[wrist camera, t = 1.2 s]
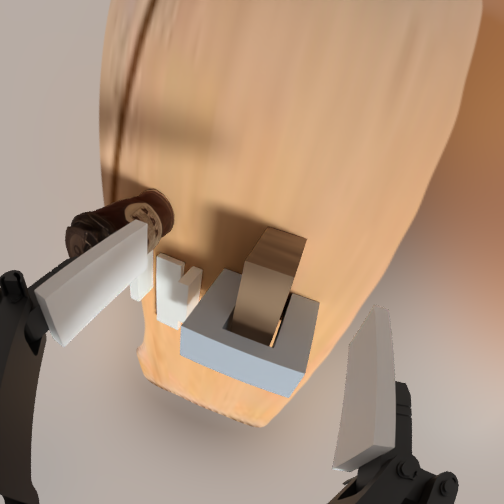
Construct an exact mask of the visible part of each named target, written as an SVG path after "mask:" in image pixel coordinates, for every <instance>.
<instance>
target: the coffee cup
mask: <svg viewBox="0 0 504 504" xmlns="http://www.w3.org/2000/svg"><path fill="white" fill-rule="evenodd" d="M134 220H139V221H142V222H144V223H147V224H148V226H147V254H148V253H149V252H151V251H152V250H153V249H154V248H155V247H156V245H157V244H158V243H159V241H160V239H161V238H162V237H163V236H165V235H166V234H167V233H168V232H170V231H171V229H172V228H173V225H174V212H173V209H172V207H171V205H170V203H169V201H168V200H167V199H166V198H165V196H164V195H163V194H161V193H160V192H158V191H157V190H155V189H154V190H147V191H145V192H143V193H142V194H140V195H139V196H137V197H133V198H130V199H124V200H119V201H116V202H113V203H111V204H110V205H108V206H106V207H103V208H101V209H98V210H96V211H93V212H90V211H89V212H85V213H82V214H80V215H77V216H75V217H74V219H73V220H72V223H71V227H67V230H66V236H65V242H66V248H67V251H68V254H69V257H70V258H72V257H75V256H78V257H79V256H81V255H82V254H84V253H85V252H87V251H88V250H90V249H91V248H92V247H94V246H95V245H97V244H98V243H100V242H101V241H103V240H104V239H106V238H107V237H109V236H110V235H112V234H114V233H115V232H117V231H118V230H120V229H121V228H123V227H124V226H126V225H128V224H129V223H131V222H132V221H134Z"/></svg>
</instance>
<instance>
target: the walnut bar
mask: <svg viewBox="0 0 504 504" xmlns="http://www.w3.org/2000/svg"><path fill="white" fill-rule="evenodd" d="M306 240H307V239H305V238H302V237H299V236H296V235H293V234H290V233H287V232H284V231H281V230H278V229H275V228H271V227H267V229H266V230H265V232H264V233H263V235H262V236H261V238H260V239H259V241H258V242H257V244H256V245H255V247H254V248H253V250H252V251H251V253H250V254H249V256H248V257H247V259H246V260H245V263H244V268H243V273H242V277H241V282H240V287H239V291H238V296H237V300H236V305H235V310H234V314H233V319H232V324H231V328H230V332H232V333H235V334H237V335H240V336H242V337H245V338H248V339H250V340H253V341H255V342H258V343H261V344H264V345H266V346H269V345H270V343H271V340H272V338H273V335H274V332H275V330H276V327H277V324H278V322H279V319H280V316H281V314H282V311H283V308H284V305H285V303H286V300H287V297H288V294H289V291H290V289H291V286H292V283H293V280H294V277H295V274H296V271H297V268H298V265H299V262H300V259H301V256H302V253H303V250H304V246H305V243H306Z"/></svg>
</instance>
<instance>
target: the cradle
mask: <svg viewBox="0 0 504 504" xmlns="http://www.w3.org/2000/svg"><path fill="white" fill-rule="evenodd" d="M184 267H185V262H182V261H180V260H177V259H175V258H172V257H170V256H167V255H165V254H162V253H160V254H159V255H157V263H156V297H157V320H158V321H160V322H162V323H164V324H166V325H168V326H170V327H172V328H174V329H176V330H178V329H179V328H180V326H181V322H182V323H184V321H185V320H186V319H187V317H188V316H189V315H190V313H191V312H192V311H193V309H194V308H195V307H196V305H197V304H198V303H199V296H200V288H201V280H202V272H203V270H202V269H200V268H197V267H195V266H192V267H191V268H190V269H189V271H188V272H187V273H186V274H185V275H184ZM152 288H153V250H152V251H151V252H149V253H148V254H147V269H146V270H145V271H144V272H143V273H142V274H141V275H139V276H138V277H137V278H136V279H135V280H134V281H133V282H132V283H131V284H130V291H131V298H132V299H134V300H136V301H138V302H139V301H140V300H141V299H142V298H143V297H144V296H145V295H146V294H147V293H148V292H149V291H150V290H151V289H152Z"/></svg>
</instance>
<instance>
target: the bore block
mask: <svg viewBox="0 0 504 504" xmlns="http://www.w3.org/2000/svg"><path fill="white" fill-rule="evenodd" d="M241 277H242V275H241V274H239V273H236V272H233V271H231V270H228V269H225V268H224V270H223V271H222V272H221V273H220V275H219V276H218V277H217V279H216V280H215V281H214V283H213V284H212V285H211V287H210V288H209V289H208V291H207V292H206V293H205V295H204V296H203V297H202V299H201V300H200V301H199V303H198V304H197V305H196V307H195V308H194V309H193V311H192V312H191V313H190V315H189V316H188V317H187V319H186V320H185V321H184V323H183V324H182V325H181V341H180V355H181V356H183V357H186V358H188V359H190V360H192V361H194V362H197V363H199V364H201V365H203V366H206V367H208V368H210V369H213V370H215V371H217V372H220V373H222V374H225V375H227V376H229V377H232V378H234V379H237V380H240V381H242V382H245V383H247V384H250V385H253V386H256V387H258V388H261V389H264V390H267V391H270V392H273V393H276V394H278V395H282V396H285V397H288V398H289V397H290V395H291V394H292V392H293V391H294V389H295V388H296V387H297V385H298V384H299V382H300V381H301V379H302V378H303V376H304V374H305V371H306V367H307V363H308V358H309V354H310V349H311V344H312V340H313V335H314V330H315V325H316V320H317V314H318V309H319V302H316V301H313V300H310V299H308V298H305V297H302V296H299V295H296V294H294V293H292V296H291V298H290V301H289V303H288V306H287V308H286V311H285V313H284V316H283V318H282V321H281V324H280V327H279V329H278V332H277V335H276V338H275V341H274V343H273V346H272V347H269V346H266V345H264V344H261V343H258V342H255V341H253V340H250V339H248V338H245V337H242V336H240V335H237V334H235V333H232V332H230V328H231V324H232V319H233V314H234V310H235V305H236V300H237V296H238V291H239V287H240V282H241Z"/></svg>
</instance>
